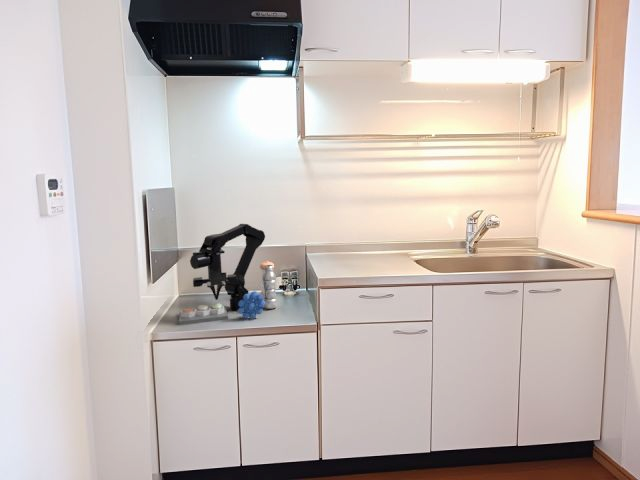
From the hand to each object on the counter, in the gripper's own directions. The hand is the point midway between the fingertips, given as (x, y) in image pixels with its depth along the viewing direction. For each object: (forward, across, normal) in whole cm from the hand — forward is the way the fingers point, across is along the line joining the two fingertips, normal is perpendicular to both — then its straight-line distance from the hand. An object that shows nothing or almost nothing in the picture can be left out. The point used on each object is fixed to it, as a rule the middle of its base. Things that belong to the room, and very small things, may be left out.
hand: (216, 299), depth 190 cm
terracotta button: (+6, -12, 0) cm, 13 cm away
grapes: (+8, +14, -9) cm, 18 cm away
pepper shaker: (+8, +26, +18) cm, 32 cm away
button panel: (+7, -6, 0) cm, 9 cm away
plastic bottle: (+8, +24, +2) cm, 25 cm away
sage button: (+5, 0, 0) cm, 5 cm away
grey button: (+5, -6, 0) cm, 8 cm away
